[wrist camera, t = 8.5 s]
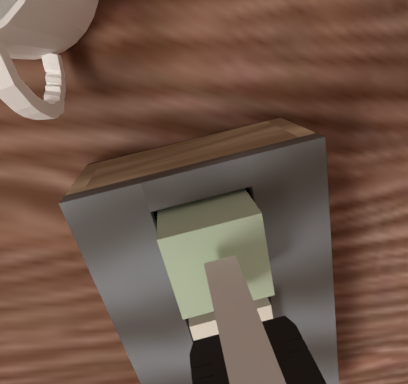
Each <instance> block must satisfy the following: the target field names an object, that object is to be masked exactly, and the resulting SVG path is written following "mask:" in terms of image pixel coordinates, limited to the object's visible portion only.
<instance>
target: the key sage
mask: <svg viewBox="0 0 408 384" xmlns="http://www.w3.org/2000/svg"><path fill="white" fill-rule="evenodd" d="M157 243H158V246H159V249H160V252H161V255H162V258H163V261H164V264H165V267H166V270H167V273H168V276H169V279H170V282H171V285H172V288H173V291H174V294H175V297H176V301H177V304H178V307H179V310H180V313H181V316H182V319H183V320H184V319H187V318H191V317H195V316H199V315H202V314H206V313H210V312H213V311H214V309H213V304H212V300H211V295H210V290H209V286H208V281H207V276H206V272H205V267H204V263H207V262H210V261H214V260H218V259H222V258H226V257H230V256H234V255H236V258H237V260H238V263H239V265H240V268H241V270H242V273H243V275H244V278H245V280H246V283H247V286H248V288H249V291H250V293H251V296H252V298H253V301H254V300H258V299H262V298H265V297H269V296H273V295H275V293H274V287H273V281H272V274H271V268H270V262H269V255H268V249H267V242H266V236H265V230H264V223H263V217H262V212H261V211H260V210H259V208H258V207H257V205H256V204H255V202H254V201H253V199H252V198H251V197H250V195H249V194H248V192H247V191H246V189H245V188H243V189H239V190H235V191H231V192H228V193H224V194H220V195H216V196H212V197H208V198H204V199H200V200H196V201H192V202H188V203H184V204H180V205H176V206H173V207H169V208H165V209H161V210H157Z"/></svg>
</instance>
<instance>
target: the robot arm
mask: <svg viewBox="0 0 408 384" xmlns="http://www.w3.org/2000/svg"><path fill="white" fill-rule="evenodd" d="M204 267H205V272H206V276H207V281H208V286H209V290H210V295H211V300H212V304H213V309H214V313H215V318H216V323H217V327H218V332H219V334H217V335H213V336H210V337H206V338H202V339H199V340H195V341H193V344H192V348H191V351H190V354H189V356H190V366H191V376H192V384H327V383H326V382H325V380H324V378H323V376H322V374H321V372H320V370H319V368H318V366H317V364H316V362H315V360H314V359H313V357H312V355H311V353H310V351H309V350H308V347H307V345H306V343H305V341H304V340H303V338H302V336H301V334H300V332H299V330H298V328H297V326H296V324H294V323H293V322H292V321H291V320H290V319H289V318H287V317H286V316H281V317H277V318H274V319H270V320H266V321H261V319H260V316H259V313H258V311H257V308H256V306H255V303H254V301H253V298H252V296H251V293H250V291H249V288H248V286H247V283H246V280H245V278H244V275H243V273H242V270H241V268H240V265H239V263H238V260H237V258H236V255H234V256H230V257H226V258H222V259H218V260H214V261H210V262H207V263H204Z"/></svg>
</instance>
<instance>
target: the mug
mask: <svg viewBox="0 0 408 384" xmlns="http://www.w3.org/2000/svg"><path fill="white" fill-rule="evenodd" d="M98 1H99V0H0V99H1V100H2V101H3V102H5V103H6V104H7V105H8V106H9V107H10V108H11V109H12V110H13V111H15V112H16V113H18V114H20V115H21V116H23V117H26V118H30V119H34V120H44V119H55V118H58V117H59V115H60V114H62V113H63V112H64V105H65V102H64V98H65V93H66V87H65V86H66V82H65V74H64V68H63V63H62V58H61V55H57V54H59V53H62V52H64V51H66V50H67V49H68V48H70V47H71V46H73V45H74V44H75V43H77V41H78V40H79V39H80V38H81V37H82V36H83V35H84V34H85V32H86V31H87V29H88V27H89V26H90V24H91V22H92V20H93V18H94V15H95V12H96V8H97V5H98ZM11 58H12V59H33V60H36V59H42V61H43V66H44V69H45V72H46V75H45V78H46V83H47V86H45V89H46V91H45V93H44V101H43V100H41V99H40V98H39V97H37V96H36V95H35V94H34V93H33V92H32V91H31V90H30V89H29V88H28V86H27V85H26V84H25V83H24V82H23V81H22V80H21V79H20V77H19V75H18V73H17V71H16V68H15V66H14V64H13V62H12V60H11Z"/></svg>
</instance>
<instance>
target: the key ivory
mask: <svg viewBox="0 0 408 384" xmlns="http://www.w3.org/2000/svg"><path fill="white" fill-rule="evenodd" d="M254 303H255V306H256V308H257V311H258V313H259V316H260V319H261V321H266V320H270V319H273V314H272V308H271V304H270V302H269V300H268V297H265V298H262V299H258V300H254ZM188 319H189V327H190V331H191V334H192V337H193V340H194V341H195V340H199V339H202V338H206V337H210V336H213V335H217V334H219V332H218V327H217V323H216V318H215V313H214V311H213V312H210V313H206V314H202V315H199V316H195V317H191V318H188Z"/></svg>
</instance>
